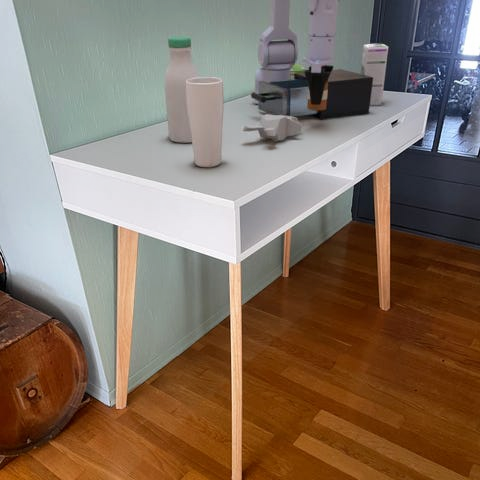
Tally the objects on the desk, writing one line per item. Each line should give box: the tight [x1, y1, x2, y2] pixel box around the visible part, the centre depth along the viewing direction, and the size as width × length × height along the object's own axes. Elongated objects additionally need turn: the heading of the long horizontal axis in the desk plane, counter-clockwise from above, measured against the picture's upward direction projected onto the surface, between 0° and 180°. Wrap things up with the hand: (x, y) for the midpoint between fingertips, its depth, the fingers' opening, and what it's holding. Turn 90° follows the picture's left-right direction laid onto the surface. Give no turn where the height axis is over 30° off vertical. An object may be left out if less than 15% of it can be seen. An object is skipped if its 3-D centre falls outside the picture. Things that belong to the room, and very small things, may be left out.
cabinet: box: [294, 68, 373, 120], centre depth 131 cm, size 15×15×9 cm
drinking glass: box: [186, 76, 225, 168], centre depth 94 cm, size 7×7×15 cm
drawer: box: [250, 78, 320, 117], centre depth 127 cm, size 17×13×7 cm
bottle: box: [307, 68, 328, 110], centre depth 116 cm, size 4×4×8 cm
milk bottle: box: [164, 36, 200, 144], centre depth 107 cm, size 8×8×20 cm
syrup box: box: [360, 43, 389, 106], centre depth 136 cm, size 6×6×14 cm
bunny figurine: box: [242, 113, 303, 143], centre depth 111 cm, size 10×5×15 cm
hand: (317, 102), depth 117 cm, fingers closed on bottle, 4 cm apart
